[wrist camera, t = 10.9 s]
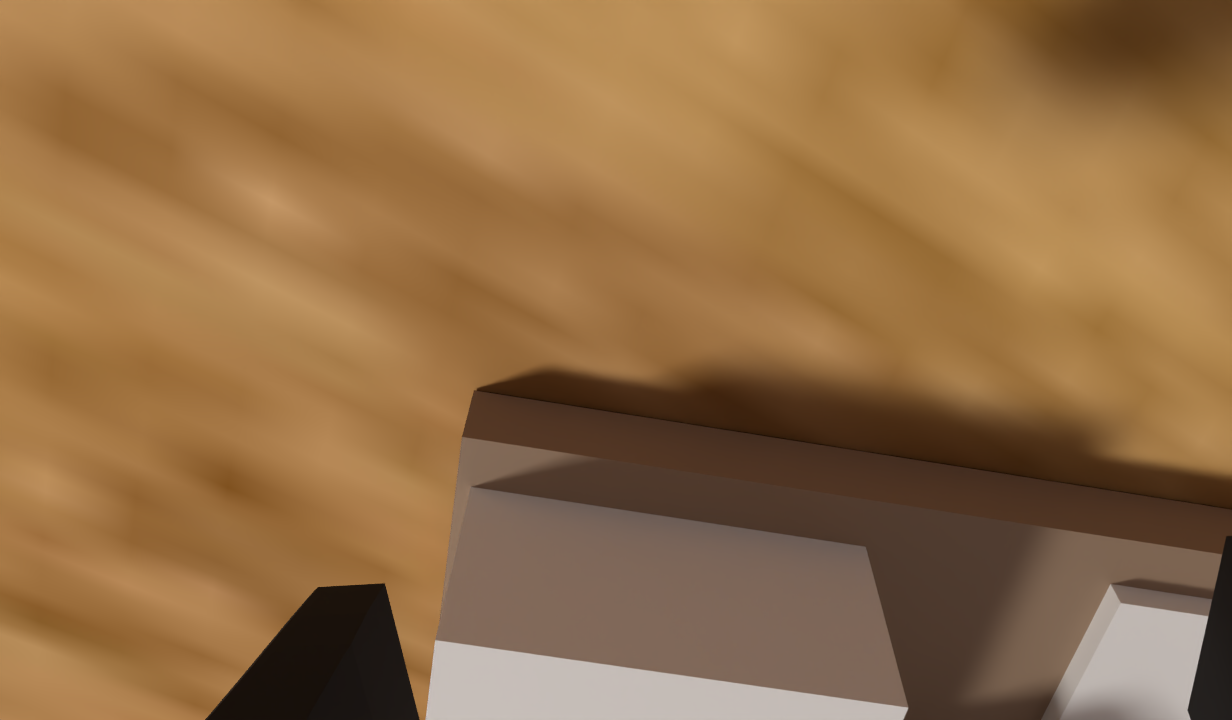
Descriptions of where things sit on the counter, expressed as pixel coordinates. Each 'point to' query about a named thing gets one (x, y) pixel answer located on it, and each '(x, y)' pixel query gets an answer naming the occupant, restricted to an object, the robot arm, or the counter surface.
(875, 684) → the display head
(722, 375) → the counter surface
